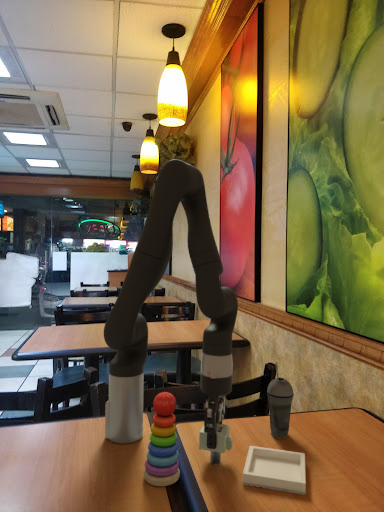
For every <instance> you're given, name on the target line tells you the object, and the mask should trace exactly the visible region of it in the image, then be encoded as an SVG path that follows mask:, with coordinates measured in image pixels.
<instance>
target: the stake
mask: <svg viewBox="0 0 384 512" xmlns="http://www.w3.org/2000/svg"><path fill="white" fill-rule="evenodd" d="M212 427H213V426H212ZM217 430H218V432H219V433H220V432H221V427H220V426H219V425H218V428H217ZM221 458H222V453H220V452H214V451H210V464H212V465H215V464H217V465H220V464H221Z"/></svg>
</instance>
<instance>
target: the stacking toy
mask: <svg viewBox="0 0 384 512" xmlns="http://www.w3.org/2000/svg"><path fill="white" fill-rule="evenodd" d="M152 404H153V405H152V406H153V409H154V412H155V414H154V415H153V417H152V424H151V427H150V431H151V433H150V435H149V442H148V445H147V448H148V451H147V453H146V459H145V462H144V471H143V478H144V480H145V481H146V482H147V483H148V484H150V485H151V486H155V487H167V486H171V485H173V484H175V483H176V482H177V481H178V480H179V478H180V477H181V476H180V475H181V471H180V467H179V466H180V464H179V451H178V443H177V440H178V435H177V432H176V431H177V427H176V425H175V423H176V421H177V419H176V416H175V414H174V412H175V411H176V407H177V400H176V397H175V396H174V395H173V394H172V393H171V392H169V391H162V392H159V393H158V394H157V395H155V397H154V399H153V403H152Z"/></svg>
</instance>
